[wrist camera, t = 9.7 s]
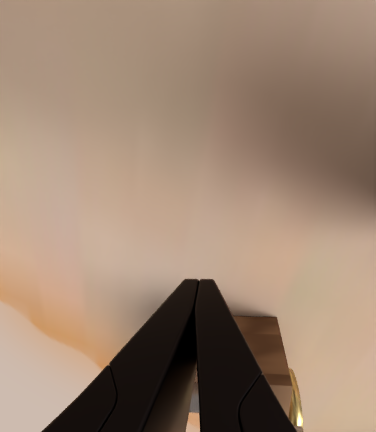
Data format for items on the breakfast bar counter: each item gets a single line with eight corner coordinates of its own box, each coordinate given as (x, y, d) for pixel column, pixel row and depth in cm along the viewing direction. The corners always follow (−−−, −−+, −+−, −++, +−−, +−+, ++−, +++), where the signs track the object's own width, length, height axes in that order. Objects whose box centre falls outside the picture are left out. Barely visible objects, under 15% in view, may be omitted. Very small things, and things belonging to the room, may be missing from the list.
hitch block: (276, 317, 24) (292, 386, 18) (269, 404, 29) (280, 477, 23) (206, 315, 24) (202, 380, 19) (211, 399, 30) (209, 470, 24)
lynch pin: (290, 354, 24) (308, 427, 19) (285, 392, 26) (300, 467, 21) (174, 349, 26) (162, 416, 20) (179, 385, 28) (169, 453, 23)
